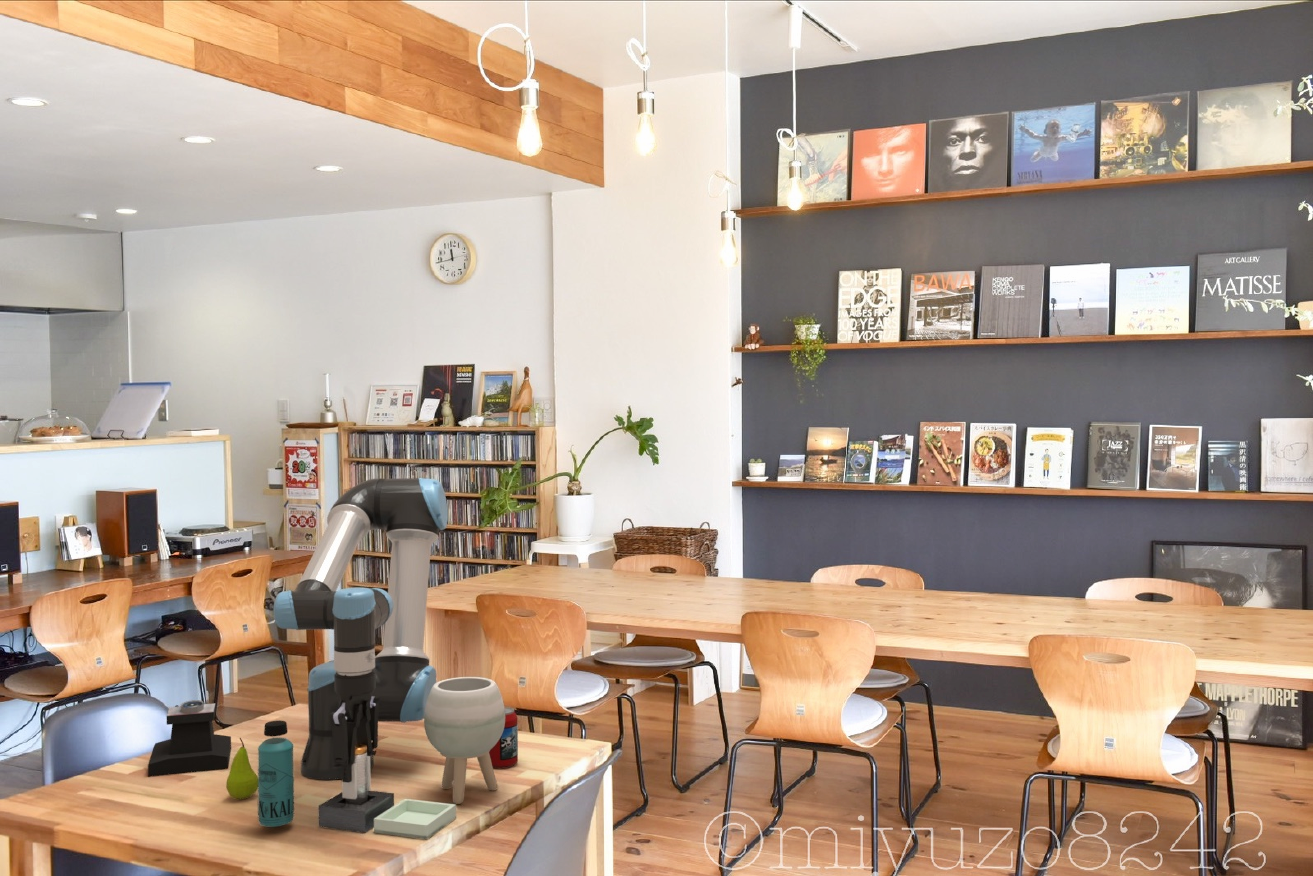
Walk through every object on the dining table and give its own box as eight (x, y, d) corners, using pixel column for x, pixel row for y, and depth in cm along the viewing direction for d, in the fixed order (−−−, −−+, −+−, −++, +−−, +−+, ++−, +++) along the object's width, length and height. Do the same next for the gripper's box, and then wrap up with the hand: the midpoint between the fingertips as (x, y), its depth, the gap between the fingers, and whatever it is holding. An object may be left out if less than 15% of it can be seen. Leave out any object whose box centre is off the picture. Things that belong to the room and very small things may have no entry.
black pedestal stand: (146, 716, 236) (155, 693, 250) (148, 782, 237) (157, 754, 252) (226, 710, 240) (230, 687, 255) (228, 774, 242) (232, 747, 256)
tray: (374, 832, 205) (373, 818, 205) (405, 812, 216) (404, 798, 215) (427, 839, 202) (426, 825, 202) (456, 818, 212) (456, 804, 212)
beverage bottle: (263, 822, 210) (261, 717, 210) (299, 821, 211) (297, 716, 210) (253, 836, 204) (251, 727, 203) (290, 834, 204) (289, 726, 204)
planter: (519, 785, 230) (518, 677, 230) (482, 812, 215) (481, 697, 215) (450, 777, 236) (449, 672, 235) (409, 803, 220) (408, 690, 220)
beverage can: (512, 770, 240) (511, 715, 239) (482, 768, 241) (481, 713, 241) (522, 760, 246) (521, 706, 246) (493, 759, 248) (492, 705, 247)
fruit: (245, 804, 220) (244, 744, 220) (219, 801, 222) (218, 742, 222) (265, 794, 226) (264, 735, 226) (239, 791, 228) (238, 732, 228)
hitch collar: (318, 827, 208) (318, 805, 208) (349, 808, 218) (348, 788, 217) (365, 833, 205) (365, 811, 205) (394, 814, 215) (393, 793, 214)
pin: (341, 823, 210) (340, 749, 210) (353, 815, 214) (352, 743, 213) (360, 825, 209) (359, 751, 208) (372, 817, 213) (371, 745, 212)
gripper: (346, 683, 201) (348, 811, 202) (396, 662, 217) (397, 781, 218) (310, 680, 204) (312, 807, 204) (362, 659, 220) (364, 777, 220)
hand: (356, 793), depth 211 cm, fingers closed on pin, 4 cm apart
